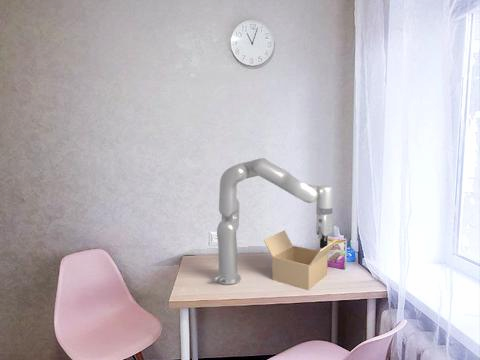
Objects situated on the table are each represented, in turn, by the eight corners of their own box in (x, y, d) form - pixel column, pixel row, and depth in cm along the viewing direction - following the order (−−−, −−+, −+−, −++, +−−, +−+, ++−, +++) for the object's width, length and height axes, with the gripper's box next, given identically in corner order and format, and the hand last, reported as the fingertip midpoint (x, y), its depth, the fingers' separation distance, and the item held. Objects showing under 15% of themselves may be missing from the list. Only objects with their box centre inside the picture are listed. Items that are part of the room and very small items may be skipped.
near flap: (309, 265, 145) (310, 265, 145) (319, 250, 141) (320, 251, 141) (326, 252, 162) (327, 253, 162) (336, 239, 158) (337, 239, 158)
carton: (308, 290, 146) (308, 265, 145) (272, 279, 159) (272, 257, 157) (327, 274, 164) (327, 252, 162) (293, 266, 176) (293, 245, 175)
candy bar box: (324, 266, 175) (324, 238, 173) (326, 263, 179) (326, 235, 177) (344, 270, 169) (345, 240, 167) (346, 266, 173) (347, 238, 172)
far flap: (264, 239, 160) (263, 239, 160) (272, 256, 158) (272, 256, 158) (284, 230, 176) (283, 230, 177) (292, 245, 174) (292, 246, 174)
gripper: (325, 214, 142) (325, 253, 144) (337, 209, 153) (336, 245, 155) (310, 212, 146) (309, 250, 148) (323, 207, 158) (322, 242, 160)
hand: (323, 247), depth 152 cm, fingers closed
